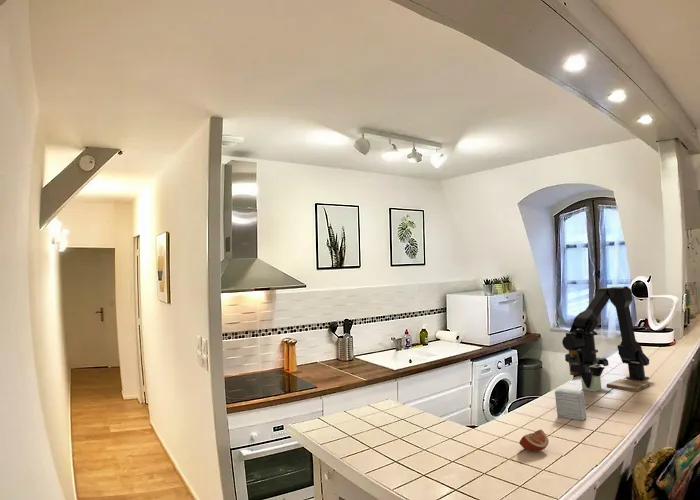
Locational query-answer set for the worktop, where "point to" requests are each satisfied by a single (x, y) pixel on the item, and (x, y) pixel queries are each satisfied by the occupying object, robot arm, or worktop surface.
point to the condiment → (573, 363)
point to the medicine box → (570, 404)
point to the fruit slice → (534, 441)
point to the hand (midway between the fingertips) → (591, 386)
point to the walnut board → (628, 385)
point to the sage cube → (593, 384)
